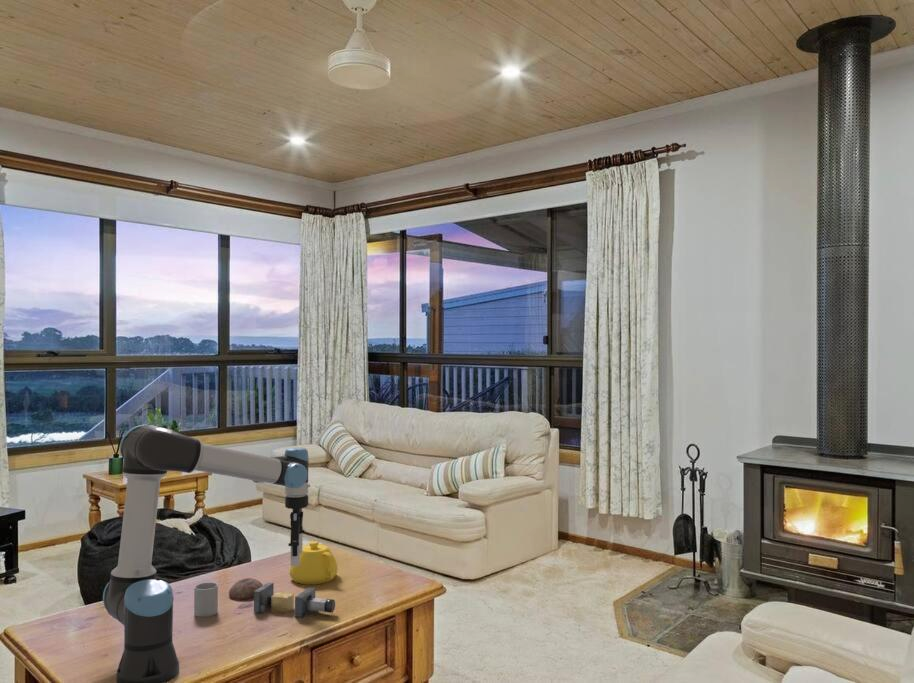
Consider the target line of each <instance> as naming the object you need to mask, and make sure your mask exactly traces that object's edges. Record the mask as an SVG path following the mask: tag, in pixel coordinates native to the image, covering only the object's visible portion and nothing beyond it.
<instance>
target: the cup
mask: <svg viewBox="0 0 914 683" xmlns="http://www.w3.org/2000/svg"><path fill="white" fill-rule="evenodd" d="M218 585H219V584H218V583H217V582H213V581H212V582H211V581H208V582H201V583H198V584H195V585H194V589H193V590H194V595H193V596H194V598H193V599H194V600H193V606H194V607H193V608H194V609H193V610H194V612H193V614H194V616H195V617H198V618H207V617H212V616H215V615H216V614H217V613H218V608H219V606H218V605H219V604H218V603H219V602H218V601H219V586H218Z"/></svg>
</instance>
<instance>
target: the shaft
mask: <svg viewBox="0 0 914 683" xmlns="http://www.w3.org/2000/svg"><path fill="white" fill-rule="evenodd" d="M335 609H336V600H335V599H333V598H332V599H330V598H321V597H315V598H311V597H307V598H306V610H312V611H311V612H313V611H314V612H322V613H323V612H324V613H331V614H333V612H334V611H335Z"/></svg>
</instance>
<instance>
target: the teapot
mask: <svg viewBox="0 0 914 683" xmlns="http://www.w3.org/2000/svg"><path fill="white" fill-rule="evenodd" d="M290 540H291V537H290ZM293 542H294V541H293ZM308 543H309V544H308V545H302V554H299V566H291V565H290V568H289V575H290V576H289V577H291V578H290V579H292V580H293V581H294V582H295V583H297V584H299V583H300V585H305V586H307V585H309V586H310V585H312V586H313V585H322V584H325V582H326V583H328V582H330V581H332V580H333V579H334V578H335V577H336V575H337V573H338V570H339V569H338V563H337V560H336V557H335V556H334V554H333V553H332V551H331V549H330V547H328V546H327V545H326V544H325V545H324V544H319V541H314V540H313V541H310V542H308Z"/></svg>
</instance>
